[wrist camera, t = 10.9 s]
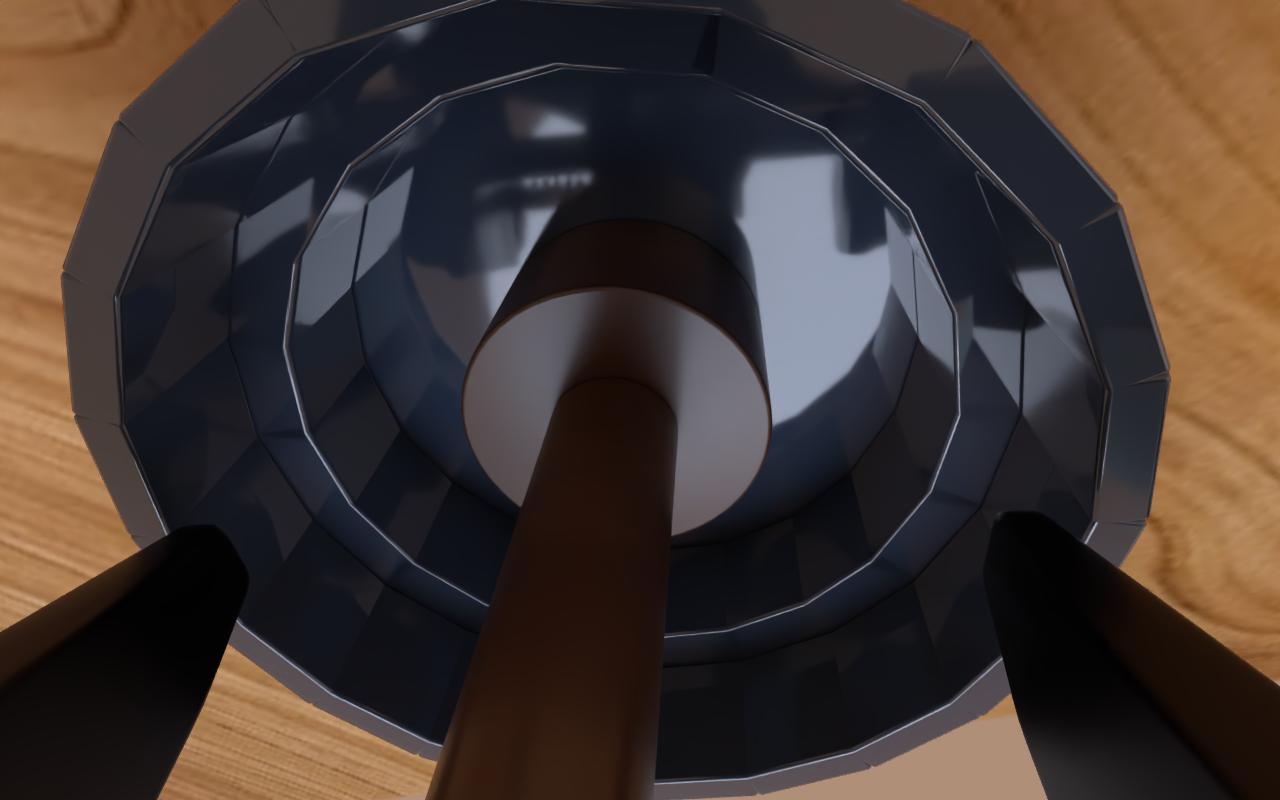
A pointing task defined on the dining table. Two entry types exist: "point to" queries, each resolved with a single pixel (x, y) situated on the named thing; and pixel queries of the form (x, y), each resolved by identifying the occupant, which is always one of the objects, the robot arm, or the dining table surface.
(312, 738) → the dining table surface
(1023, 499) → the bowl
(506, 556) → the peg on round base
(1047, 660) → the robot arm
